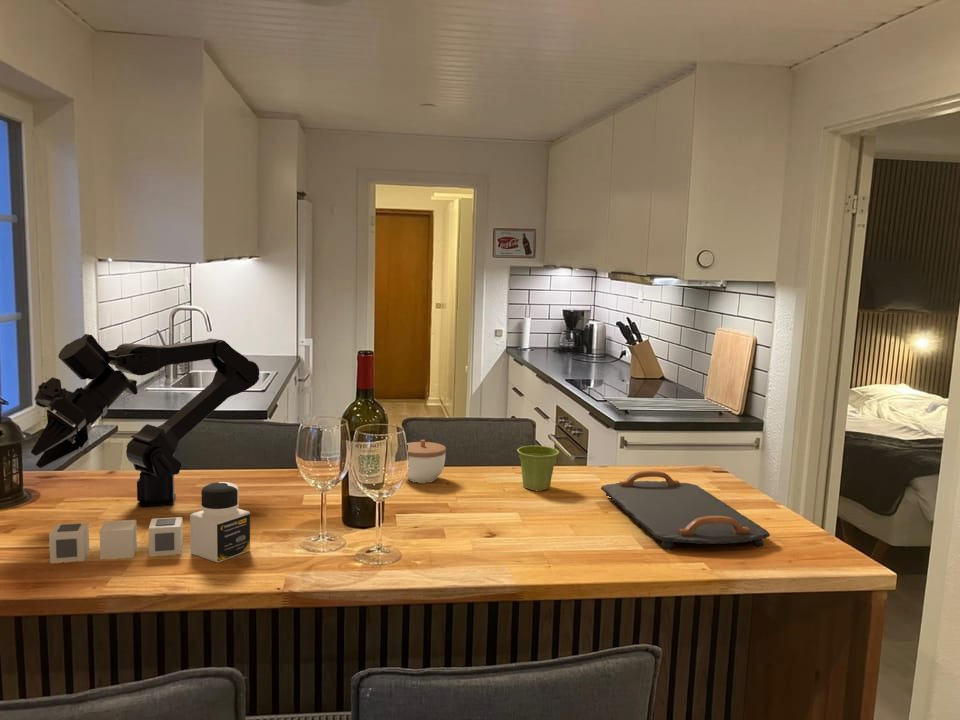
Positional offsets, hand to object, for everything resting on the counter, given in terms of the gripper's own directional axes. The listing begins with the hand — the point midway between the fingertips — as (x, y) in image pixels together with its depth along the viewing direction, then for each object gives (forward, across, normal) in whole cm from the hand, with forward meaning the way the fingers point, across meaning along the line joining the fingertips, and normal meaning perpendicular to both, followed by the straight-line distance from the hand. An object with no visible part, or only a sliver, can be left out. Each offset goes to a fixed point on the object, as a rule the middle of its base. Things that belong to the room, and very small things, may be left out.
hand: (35, 460), depth 143 cm
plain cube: (+6, +8, +23) cm, 25 cm away
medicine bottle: (-3, +13, +36) cm, 39 cm away
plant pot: (-56, -2, +84) cm, 101 cm away
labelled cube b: (+10, +7, +17) cm, 21 cm away
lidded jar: (-46, -15, +63) cm, 79 cm away
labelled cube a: (+1, +9, +28) cm, 30 cm away
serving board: (-57, +23, +106) cm, 123 cm away
